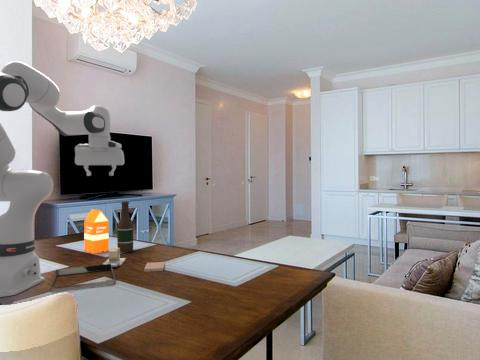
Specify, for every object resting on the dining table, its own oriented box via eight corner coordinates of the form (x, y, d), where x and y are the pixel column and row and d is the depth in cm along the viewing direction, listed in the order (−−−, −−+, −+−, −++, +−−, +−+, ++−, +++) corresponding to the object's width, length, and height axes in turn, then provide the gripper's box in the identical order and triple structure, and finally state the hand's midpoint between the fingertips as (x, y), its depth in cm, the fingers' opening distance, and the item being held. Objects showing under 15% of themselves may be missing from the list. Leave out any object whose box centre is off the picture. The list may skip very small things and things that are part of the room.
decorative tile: (115, 288, 116) (114, 270, 134) (115, 279, 115) (114, 262, 134) (48, 296, 108) (56, 276, 127) (47, 287, 108) (56, 268, 127)
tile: (164, 265, 140) (163, 272, 132) (147, 266, 139) (144, 273, 130) (164, 262, 140) (163, 268, 131) (147, 262, 139) (144, 268, 130)
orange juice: (93, 253, 160) (93, 211, 159) (84, 251, 165) (83, 209, 165) (109, 250, 166) (108, 209, 166) (99, 248, 171) (98, 208, 171)
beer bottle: (136, 249, 169) (136, 200, 168) (129, 252, 161) (129, 202, 161) (121, 248, 170) (121, 200, 169) (114, 252, 162) (113, 202, 161)
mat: (120, 265, 139) (120, 264, 139) (102, 266, 138) (102, 264, 138) (125, 259, 149) (125, 258, 149) (109, 259, 148) (108, 258, 148)
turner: (116, 266, 135) (116, 254, 135) (101, 267, 134) (100, 254, 134) (123, 259, 147) (123, 247, 147) (109, 259, 146) (108, 248, 146)
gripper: (72, 143, 145) (72, 175, 145) (121, 143, 147) (122, 175, 147) (77, 144, 151) (77, 175, 151) (125, 144, 153) (125, 175, 154)
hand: (100, 175), depth 149 cm, fingers open, 8 cm apart
